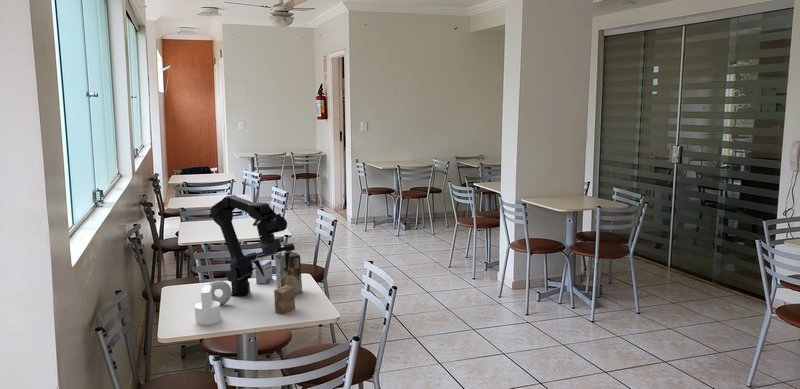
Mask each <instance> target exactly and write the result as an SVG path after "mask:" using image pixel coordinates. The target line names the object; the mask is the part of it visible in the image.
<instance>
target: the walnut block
mask: <svg viewBox="0 0 800 389" xmlns="http://www.w3.org/2000/svg"><path fill="white" fill-rule="evenodd" d="M273 294H274V295H273V296H274V313H275V314H277V315H286V314H288V313H290V312H292V311H294V310H296V298H295V297H296V296H295V294H296V293H295V292H294V286H288V285H285V286H283V287H281V288H278V289H277V288H276V289H274V291H273Z"/></svg>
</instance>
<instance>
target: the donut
mask: <svg viewBox="0 0 800 389" xmlns="http://www.w3.org/2000/svg"><path fill="white" fill-rule="evenodd" d="M209 285H212V299H213V301H217V302H219V303H220V306H223V305H225V304H226V303H228V302H229V301H230V299H231V297H232V296H231V294H232V287H231V286H230V284H228V283H227V282H226V281H224V280H213V281H212V282H210V283H209V284H208V285H207V286H209ZM216 290H221V291H222V294H221V296H217V295H215V291H216Z"/></svg>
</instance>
